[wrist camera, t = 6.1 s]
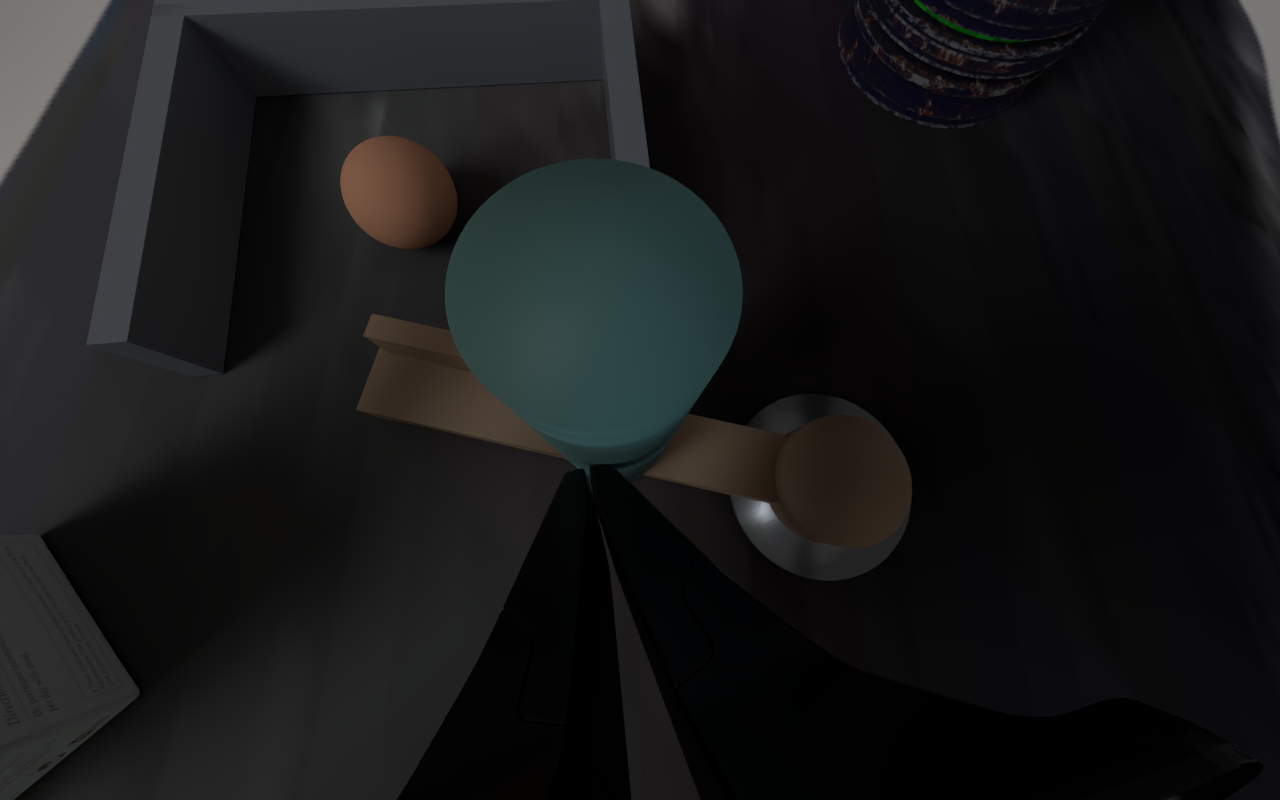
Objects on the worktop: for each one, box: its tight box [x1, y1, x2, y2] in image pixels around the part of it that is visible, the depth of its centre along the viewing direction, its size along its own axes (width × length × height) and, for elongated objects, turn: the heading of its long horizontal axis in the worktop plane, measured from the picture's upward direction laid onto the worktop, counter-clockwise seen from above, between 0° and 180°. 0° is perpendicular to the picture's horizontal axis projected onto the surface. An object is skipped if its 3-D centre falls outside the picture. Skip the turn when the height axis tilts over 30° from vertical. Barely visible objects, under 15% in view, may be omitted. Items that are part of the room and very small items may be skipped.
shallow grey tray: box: [86, 0, 650, 377], centre depth 18 cm, size 15×18×4 cm
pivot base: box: [729, 394, 911, 581], centre depth 17 cm, size 7×7×1 cm
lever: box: [356, 158, 912, 548], centre depth 11 cm, size 19×4×12 cm, turn 78°
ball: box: [340, 136, 457, 249], centre depth 17 cm, size 4×4×4 cm
